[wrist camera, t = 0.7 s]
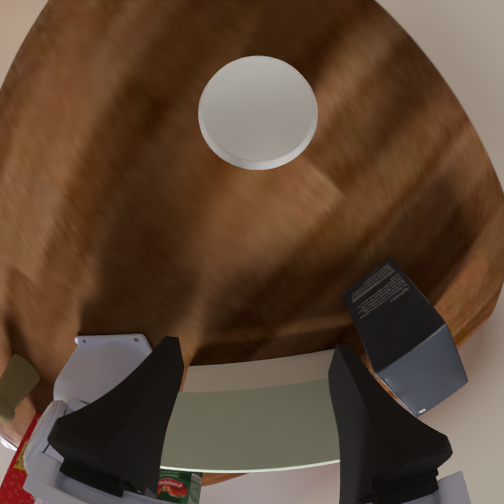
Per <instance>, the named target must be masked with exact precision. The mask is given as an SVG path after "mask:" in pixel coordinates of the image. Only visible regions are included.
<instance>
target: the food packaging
mask: <svg viewBox="0 0 504 504" xmlns="http://www.w3.org/2000/svg"><path fill="white" fill-rule="evenodd" d="M41 416H42V415H41V414H40V413H38V412H37V413H36V415H35V416H34V418H33V420H32V422H31V424H30V426H29V427H28V429H27V431H26V433H25V435H24V437H23V439H22V441H21V443H20V445H19V447H18V449H17V451H16V453H15V455H14V457H13V459H12V462H11V464H10V466H9V468H8V470H7V473H6V475H5V477H4V480H3V482H2V485H1V487H0V504H34V502H35V500H36V497H35V496H33V495H32V494H30V493H29V492H27V491H25V490H24V489H23V486H24V483H25V481H26V478H27V476H28V474H27V472H26V470H25V467H24V459H23V455H24V452H25V449H26V447H27V445H28V443H29V440H30V437H31V435H32V433H33V431H34V429H35V427H36V425H37V423H38V421H39V419H40V418H41Z"/></svg>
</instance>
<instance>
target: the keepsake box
mask: <svg viewBox="0 0 504 504" xmlns="http://www.w3.org/2000/svg"><path fill="white" fill-rule="evenodd" d="M334 351H335V349H330V350H325V351H319V352H314V353H308V354H301V355H295V356H288V357H281V358H274V359H266V360H258V361H249V362H240V363H229V364H217V365H203V366H189V368H188V371H187V375H186V379H185V383H184V387H183V391H182V393H185V392H216V391H232V390H245V389H256V388H266V387H274V386H282V385H290V384H297V383H303V382H309V381H315V380H321V379H327V378H328V371H329V368H330V364H331V361H332V357H333V354H334Z"/></svg>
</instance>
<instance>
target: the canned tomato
mask: <svg viewBox="0 0 504 504" xmlns="http://www.w3.org/2000/svg"><path fill="white" fill-rule="evenodd" d="M202 475H203V472H193V471H181V470H171V469H162V468H160V473H159V483H158V497H157V498H155V499H159V500H163V501H167V502H172V503H177V504H199V498H200V491H201V483H202Z"/></svg>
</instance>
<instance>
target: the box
mask: <svg viewBox="0 0 504 504" xmlns="http://www.w3.org/2000/svg"><path fill="white" fill-rule="evenodd" d="M342 296H343V298H344V301H345V303H346V306H347V308H348V310H349V313H350V315H351V317H352V319H353V322H354V324H355V326H356V329H357V331H358V334H359V336H360V338H361V341H362V343H363V346H364V348H365V350H366V353H367V355H368V358H369V361H370V363H371V366H372V369H373V371H374V374H375V375H376V376H377V377H378V378H379V379H380V380H381V381H382V382H383V383H384V384H385V385H386V386H387V387H388V388H389V389H390V390H391V391H392V392H393V393H394V394H395V395H396V396H397V398H398V399H399V400H400V401H401V402H402V403H403V404H404V405H405V406H406V407H407V408H408V409H409V410H410V411H411V412H412V413H413V414H414V415H415V417H416V418H417V417H419V416H421V415H422V414H424V413H425V412H427V411H429V410H430V409H432V408H433V407H435V406H436V405H438V404H439V403H440V402H442V401H443V400H445V399H446V398H448V397H449V396H450V395H452V394H453V393H455V392H456V391H457V390H458V389H460V388H461V387H463V385H465V384H466V383H467V382H468V379H467V376H466V373H465V371H464V368H463V365H462V362H461V359H460V356H459V354H458V351H457V348H456V346H455V343H454V341H453V338H452V335H451V333H450V330H449V328H448V326H447V324H446V322H445V321H444V320H443V318H442V317H441V316H440V315H439V313H438V312H437V311H436V310H435V308H434V307H433V306H432V305H431V303H430V302H429V301H428V300H427V299H426V297H425V296H424V295H423V294H422V293H421V292H420V290H419V289H418V288H417V287H416V286H415V284H414V283H413V282H412V281H411V280H410V279H409V277H408V276H407V275H406V274H405V273H404V272H403V270H402V269H401V268H400V267H399V266H398V265H397V263H396V262H395V261H394V260H393V259H392V258H390V259H388V260H387V261H385V262H384V263H383V264H381V265H380V266H379V267H377V268H376V269H375V270H374V271H372V272H371V273H370V274H368V275H367V276H366V277H365V278H363V279H362V280H360V281H359V282H358V283H357V284H355V285H354V286H352V287H351V288H349V289H348V290H347V291H345V292H344V293H343V294H342Z"/></svg>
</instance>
